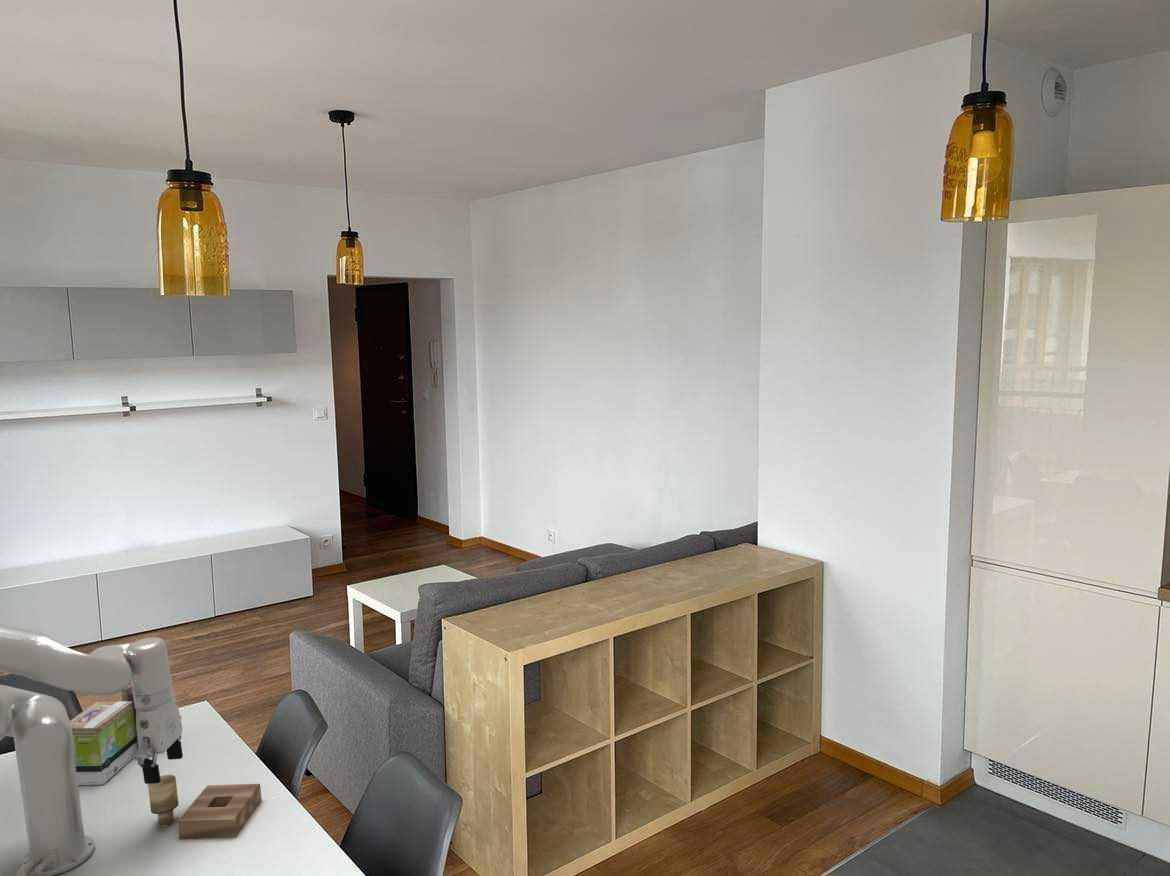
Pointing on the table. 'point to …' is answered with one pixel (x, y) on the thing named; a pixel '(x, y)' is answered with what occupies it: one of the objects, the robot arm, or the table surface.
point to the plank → (219, 811)
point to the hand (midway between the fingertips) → (164, 770)
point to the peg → (164, 799)
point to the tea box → (103, 740)
